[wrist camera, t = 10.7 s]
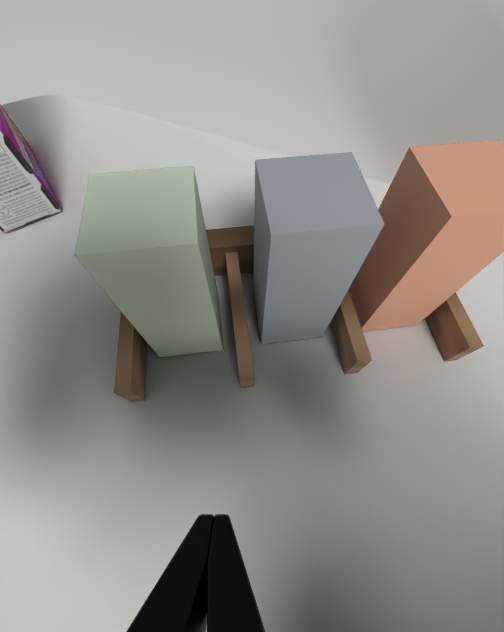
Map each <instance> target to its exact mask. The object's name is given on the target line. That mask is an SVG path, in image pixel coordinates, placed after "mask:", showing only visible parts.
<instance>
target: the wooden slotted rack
mask: <svg viewBox="0 0 504 632" xmlns="http://www.w3.org/2000/svg"><path fill="white" fill-rule="evenodd" d="M206 235H207V240H208V245H209V250H210V256H211V261H212V266H213V271H214V276H216V275H226V274H228V281H229V290H230V299H231V308H232V317H233V326H234V335H235V344H236V353H237V362H238V371H239V379H240V387H241V388H242V387H250V386H254V371H253V363H252V356H251V349H250V341H249V334H248V326H247V319H246V312H245V304H244V297H243V290H242V282H241V275H240V273H245V272H254V226H244V227H233V228H223V229H212V230H206ZM425 319H426V321H427V323H428V325H429V327H430V330H431V332H432V334H433V336H434V339H435V341H436V343H437V345H438V347H439V350H440V352H441V354H442V356H443V358H444V361H451V360H457V359H459V358H461V357H463V356H465V355H467V354H469V353H471V352H473V351H475V350H477V349H479V348H481V347H483V346H484V345H483V344H482V342H481V340H480V338H479V336H478V334H477V332H476V330H475V328H474V327H473V325H472V323H471V321H470V319H469V317H468V315H467V313H466V311H465V310H464V308H463V306H462V304H461V302H460V300H459V298H458V296H457V294H456V293H454V294H453V295H452V296H450V297H449V298H448V299H447V300H446V301H445V302H443V303H442V304H441V305H440V306H439V307H438V308H436V309H435V310H434V311H433V312H432V313H430V314H429V315H428V316H427V317H426V318H425ZM330 323H331V326H332V330H333V333H334V337H335V341H336V344H337V348H338V351H339V355H340V358H341V362H342V365H343V369H344V372H345V374H351V373H358V372H359V371H360V370H361V369H362V368H363V367H365V366H366V365H367V364H368V363H369V362H370V361H371V360H372V359H371V356H370V353H369V350H368V347H367V344H366V341H365V338H364V335H363V332H362V329H361V326H360V323H359V320H358V317H357V314H356V311H355V308H354V305H353V302H352V299H351V296H350V293H349V290H348V291H347V293H346V295H345V296H344V298H343V300H342V302H341V304H340V305H339V307H338V309H337V311H336V313H335V314H334V316H333V318H332V320H331V322H330ZM146 358H147V342H146V340H145V339H144V338H143V337H142V336H141V334H140V333H139V332H138V331H137V330H136V328H135V327H134V326H133V325H132V324H131V322H130V321H129V320H128V319H127V318H126V317H125V315H124V314H123V313H122V312H121V320H120V331H119V343H118V355H117V366H116V378H115V389H114V393H116V394H118V395H119V396H121V397H123V398H125V399H127V400H129V401H131V402H133V401H141V400H145V384H146Z"/></svg>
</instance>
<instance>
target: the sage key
mask: <svg viewBox="0 0 504 632" xmlns="http://www.w3.org/2000/svg"><path fill="white" fill-rule="evenodd" d="M74 256H75V257H76V258H77V259H78V260H79V262H80V263H81V264H82V265H83V266H84V268H85V269H86V270H87V271H88V272H89V274H90V275H91V276H92V277H93V278H94V279H95V281H96V282H97V283H98V284H99V285H100V287H101V288H102V289H103V290H104V291H105V293H106V294H107V295H108V296H109V297H110V299H111V300H112V301H113V302H114V303H115V305H116V306H117V307H118V308H119V309H120V311H121V312H122V313H123V314H124V315H125V317H126V318H127V319H128V320H129V321H130V322H131V324H132V325H133V326H134V327H135V328H136V330H137V331H138V332H139V333H140V334H141V336H142V337H143V338H144V339H145V340H146V342H147V343H148V344H149V345H150V346H151V348H152V349H153V350H154V351H155V352H156V354H157V355H158V356H159V357H168V356H176V355H185V354H193V353H201V352H210V351H218V350H223V343H222V332H221V321H220V310H219V299H218V292H217V287H216V282H215V277H214V271H213V266H212V261H211V256H210V250H209V245H208V240H207V235H206V229H205V224H204V219H203V214H202V208H201V203H200V198H199V193H198V188H197V182H196V177H195V172H194V167H193V166H185V167H173V168H160V169H148V170H135V171H123V172H110V173H98V174H90V175H89V180H88V186H87V191H86V196H85V202H84V207H83V212H82V217H81V223H80V228H79V233H78V239H77V244H76V249H75V254H74Z"/></svg>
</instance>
